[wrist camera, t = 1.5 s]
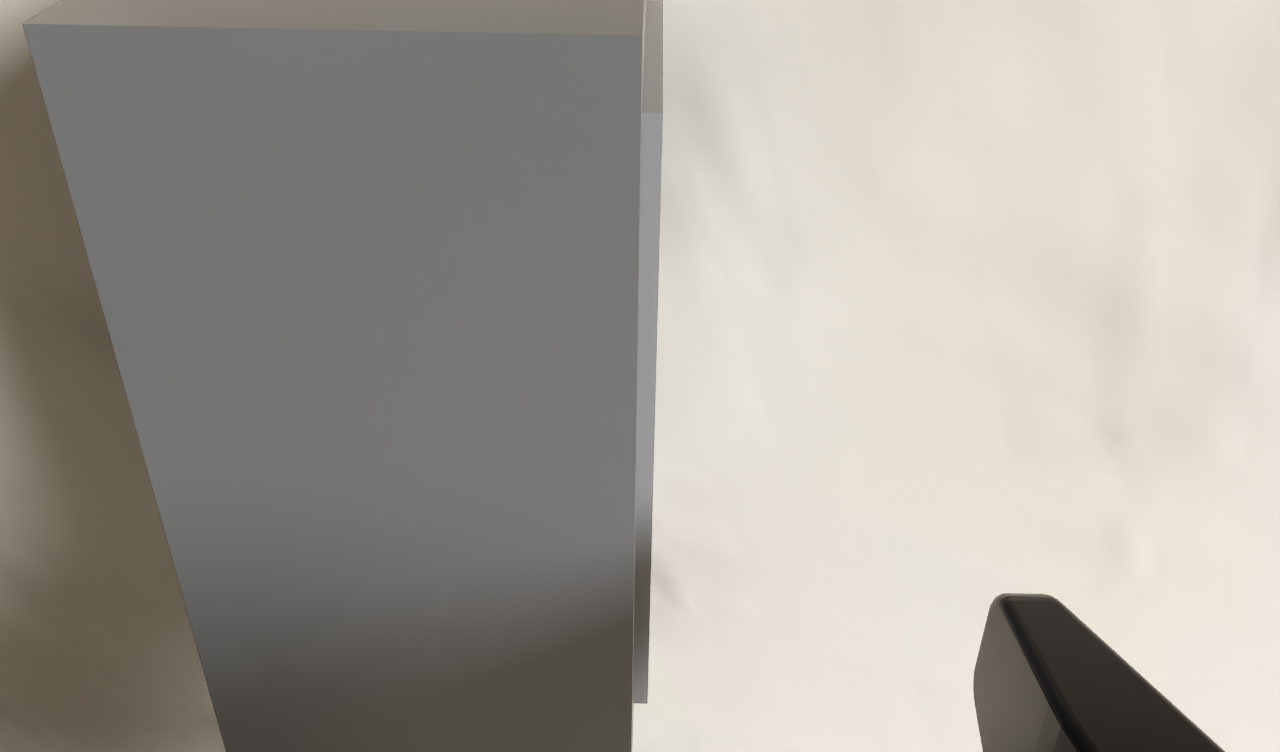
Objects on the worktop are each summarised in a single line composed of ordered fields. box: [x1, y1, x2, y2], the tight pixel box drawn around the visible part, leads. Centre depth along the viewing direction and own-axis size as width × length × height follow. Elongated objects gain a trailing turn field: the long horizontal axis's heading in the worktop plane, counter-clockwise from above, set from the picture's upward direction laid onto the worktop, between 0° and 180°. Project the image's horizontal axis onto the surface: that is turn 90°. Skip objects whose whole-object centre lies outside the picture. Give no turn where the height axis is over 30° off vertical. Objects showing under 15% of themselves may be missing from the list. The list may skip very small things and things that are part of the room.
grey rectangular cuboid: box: [23, 0, 663, 752], centre depth 12 cm, size 8×4×5 cm, turn 179°
